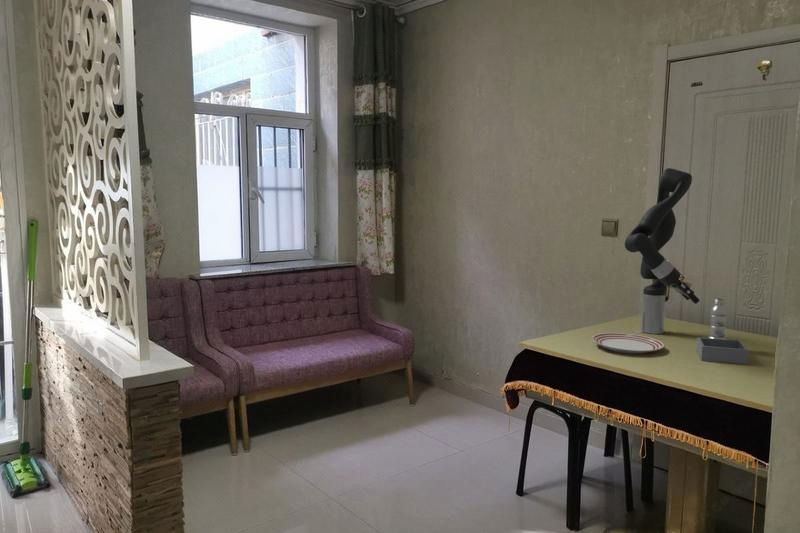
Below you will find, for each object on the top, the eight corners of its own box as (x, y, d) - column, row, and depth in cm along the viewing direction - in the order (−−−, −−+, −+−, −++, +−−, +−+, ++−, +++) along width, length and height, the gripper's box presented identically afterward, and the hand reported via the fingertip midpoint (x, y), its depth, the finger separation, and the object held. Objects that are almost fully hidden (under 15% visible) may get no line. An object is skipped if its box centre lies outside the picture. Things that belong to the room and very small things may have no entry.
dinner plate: (673, 347, 245) (674, 339, 244) (648, 361, 224) (649, 352, 224) (608, 336, 263) (608, 329, 262) (579, 348, 243) (580, 340, 242)
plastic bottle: (723, 346, 245) (726, 298, 243) (726, 350, 239) (730, 301, 237) (706, 345, 247) (709, 297, 245) (708, 349, 241) (711, 300, 239)
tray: (701, 360, 224) (702, 346, 224) (696, 350, 238) (697, 337, 238) (747, 364, 219) (748, 349, 219) (739, 354, 233) (740, 340, 233)
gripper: (679, 267, 234) (708, 296, 234) (666, 263, 248) (693, 291, 248) (664, 280, 235) (693, 310, 235) (652, 275, 249) (679, 303, 249)
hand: (693, 300), depth 242 cm, fingers open, 8 cm apart
